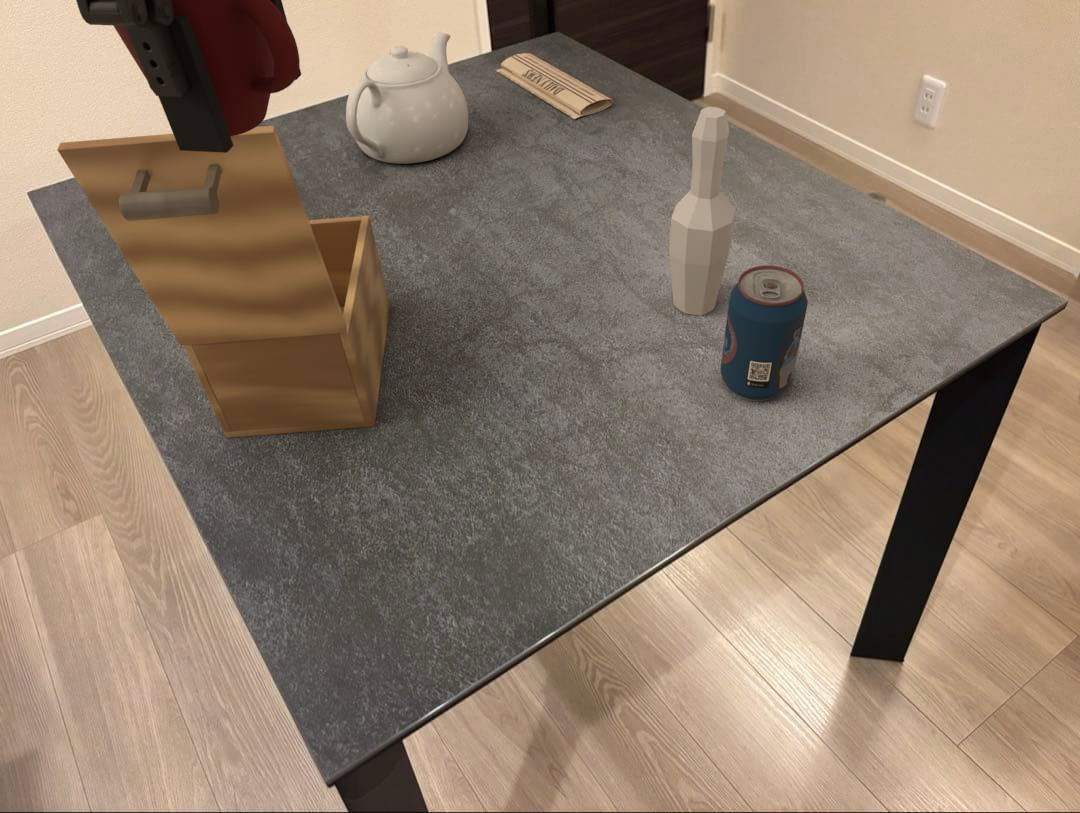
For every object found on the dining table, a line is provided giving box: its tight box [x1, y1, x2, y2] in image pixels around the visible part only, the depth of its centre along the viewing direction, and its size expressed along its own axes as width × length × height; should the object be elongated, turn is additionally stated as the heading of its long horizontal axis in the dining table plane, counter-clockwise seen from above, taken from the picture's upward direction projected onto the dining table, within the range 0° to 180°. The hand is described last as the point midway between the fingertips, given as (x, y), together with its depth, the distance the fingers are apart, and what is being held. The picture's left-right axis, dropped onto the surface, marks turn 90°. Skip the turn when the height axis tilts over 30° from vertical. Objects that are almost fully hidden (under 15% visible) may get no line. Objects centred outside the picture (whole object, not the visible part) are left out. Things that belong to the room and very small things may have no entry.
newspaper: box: [495, 52, 613, 120], centre depth 133 cm, size 24×7×2 cm, turn 33°
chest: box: [183, 214, 391, 439], centre depth 84 cm, size 20×15×12 cm
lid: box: [57, 125, 347, 347], centre depth 63 cm, size 21×15×5 cm
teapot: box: [345, 31, 469, 165], centre depth 119 cm, size 19×18×14 cm
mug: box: [112, 0, 301, 137], centre depth 43 cm, size 10×8×10 cm
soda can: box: [720, 265, 809, 402], centre depth 78 cm, size 7×7×12 cm
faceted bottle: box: [668, 106, 736, 317], centre depth 84 cm, size 6×6×22 cm
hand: (244, 109), depth 46 cm, fingers closed on mug, 8 cm apart
